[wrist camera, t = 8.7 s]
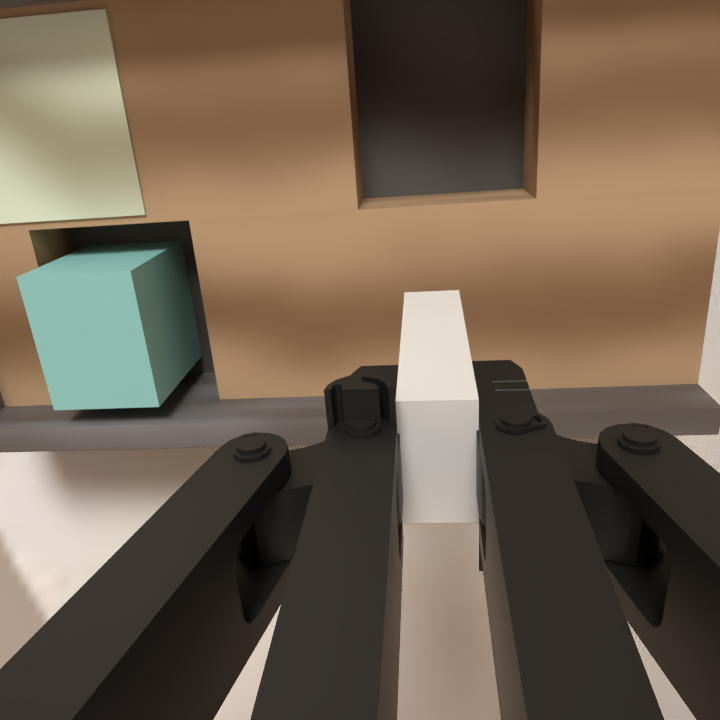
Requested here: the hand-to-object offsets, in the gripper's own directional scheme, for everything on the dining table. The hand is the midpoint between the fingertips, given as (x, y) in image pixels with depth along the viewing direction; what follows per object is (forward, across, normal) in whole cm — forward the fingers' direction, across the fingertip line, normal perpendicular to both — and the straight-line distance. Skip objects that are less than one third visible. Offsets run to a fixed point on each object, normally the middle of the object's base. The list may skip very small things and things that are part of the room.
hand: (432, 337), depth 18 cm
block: (+5, -10, -1) cm, 11 cm away
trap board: (+8, -4, +3) cm, 9 cm away
